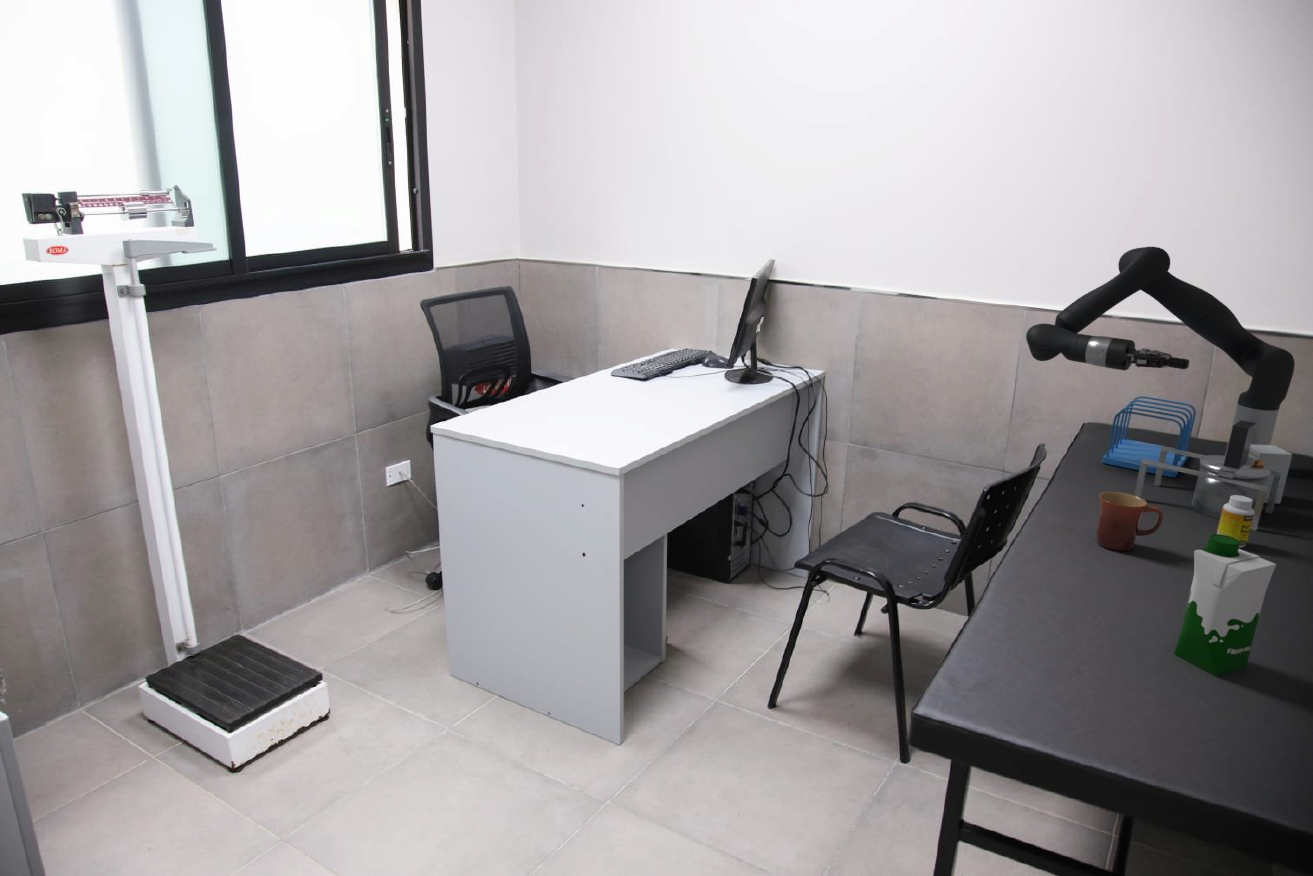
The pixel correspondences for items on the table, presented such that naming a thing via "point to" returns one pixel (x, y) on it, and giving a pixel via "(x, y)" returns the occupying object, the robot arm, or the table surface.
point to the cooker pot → (1215, 487)
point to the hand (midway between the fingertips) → (1187, 364)
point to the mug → (1122, 520)
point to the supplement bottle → (1237, 519)
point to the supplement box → (1272, 465)
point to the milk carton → (1223, 606)
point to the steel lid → (1237, 456)
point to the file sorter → (1135, 451)
